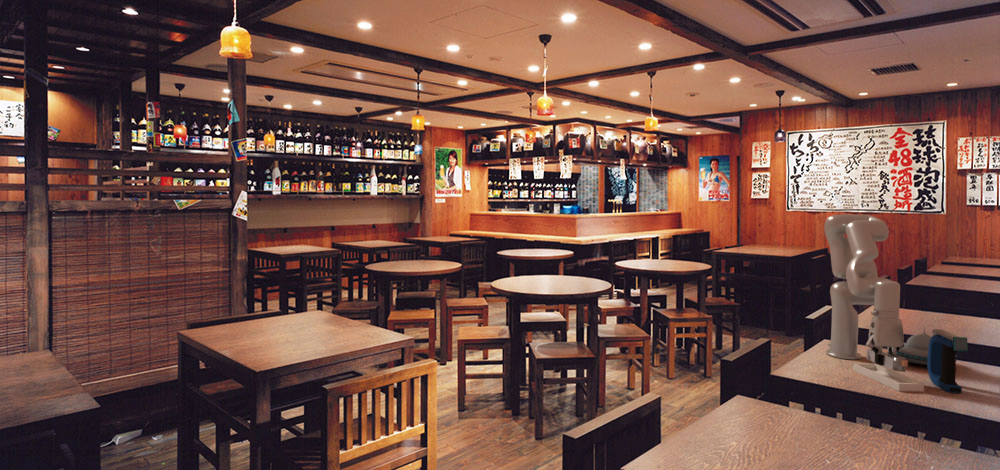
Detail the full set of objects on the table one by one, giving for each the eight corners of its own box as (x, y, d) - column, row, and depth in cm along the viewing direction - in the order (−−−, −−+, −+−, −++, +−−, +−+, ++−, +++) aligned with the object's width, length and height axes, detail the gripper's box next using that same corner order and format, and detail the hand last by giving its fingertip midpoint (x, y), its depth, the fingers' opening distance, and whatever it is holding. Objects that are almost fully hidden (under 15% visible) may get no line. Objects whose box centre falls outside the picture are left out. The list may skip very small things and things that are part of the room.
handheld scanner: (950, 394, 180) (954, 337, 179) (924, 379, 196) (928, 326, 195) (966, 396, 179) (970, 338, 178) (939, 381, 195) (943, 327, 193)
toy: (970, 371, 206) (972, 333, 205) (916, 371, 206) (917, 332, 205) (928, 356, 226) (930, 321, 226) (879, 356, 227) (881, 321, 226)
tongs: (910, 372, 186) (911, 360, 186) (900, 372, 186) (900, 360, 186) (875, 359, 203) (876, 347, 203) (866, 359, 203) (866, 347, 203)
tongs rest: (853, 370, 207) (853, 363, 207) (875, 370, 207) (875, 363, 207) (898, 391, 183) (899, 383, 183) (923, 391, 183) (924, 383, 183)
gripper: (870, 316, 192) (868, 367, 192) (916, 316, 192) (914, 367, 193) (856, 312, 199) (855, 361, 200) (901, 312, 199) (899, 361, 200)
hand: (884, 363), depth 196 cm, fingers closed on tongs, 3 cm apart
